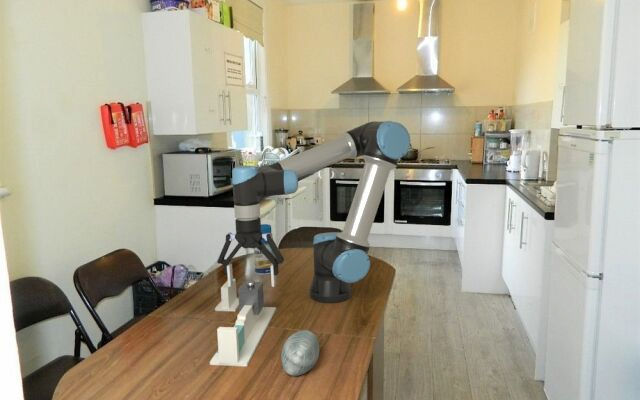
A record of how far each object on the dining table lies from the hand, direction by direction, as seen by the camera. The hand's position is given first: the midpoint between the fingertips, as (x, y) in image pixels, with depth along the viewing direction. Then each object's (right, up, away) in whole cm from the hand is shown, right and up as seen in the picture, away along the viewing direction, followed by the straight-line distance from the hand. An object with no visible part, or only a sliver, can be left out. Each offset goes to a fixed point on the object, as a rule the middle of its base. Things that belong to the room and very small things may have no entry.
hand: (252, 285), depth 145 cm
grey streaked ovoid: (+16, -17, -23) cm, 33 cm away
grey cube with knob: (0, -8, +1) cm, 8 cm away
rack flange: (-1, -14, -3) cm, 14 cm away
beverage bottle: (-2, -4, +53) cm, 53 cm away
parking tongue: (-10, -10, +18) cm, 23 cm away
